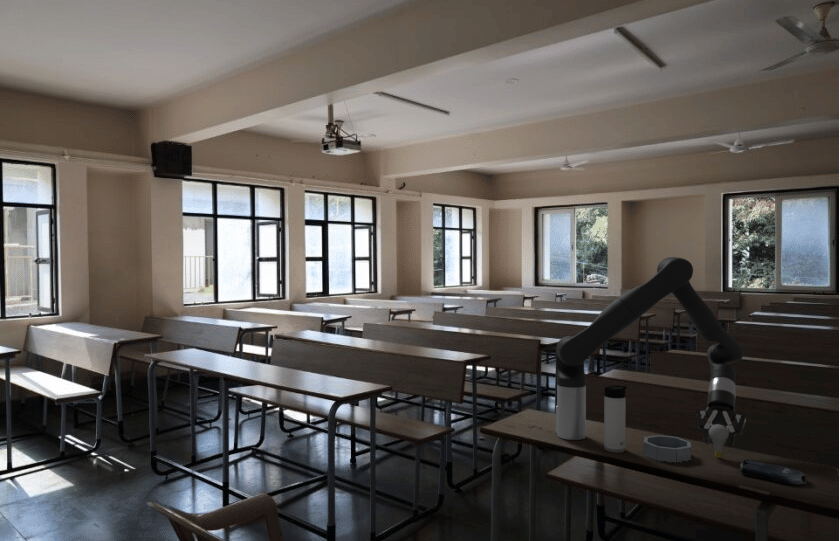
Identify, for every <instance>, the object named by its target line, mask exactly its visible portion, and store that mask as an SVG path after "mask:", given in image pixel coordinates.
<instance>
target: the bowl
mask: <svg viewBox="0 0 840 541" xmlns="http://www.w3.org/2000/svg"><path fill="white" fill-rule="evenodd" d="M643 439H644V440H643V456H644V457H647V458H649V457H650V459H652V460H654V459H655V460H654V461H656V460H657V462H664V461H666V462H665V463H672V462H675V463H674V464H679V463H678V462H680V463H683V462H682V461H686V462H689V461H688V460H691V461H692V445H691V444H692V443H691V441H689V440H686V439H683V438H681V437H677V436H672V435H671V436H669V435H660V434H659V435H658V434H657V435H649V436H644V438H643ZM676 462H677V463H676Z"/></svg>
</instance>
